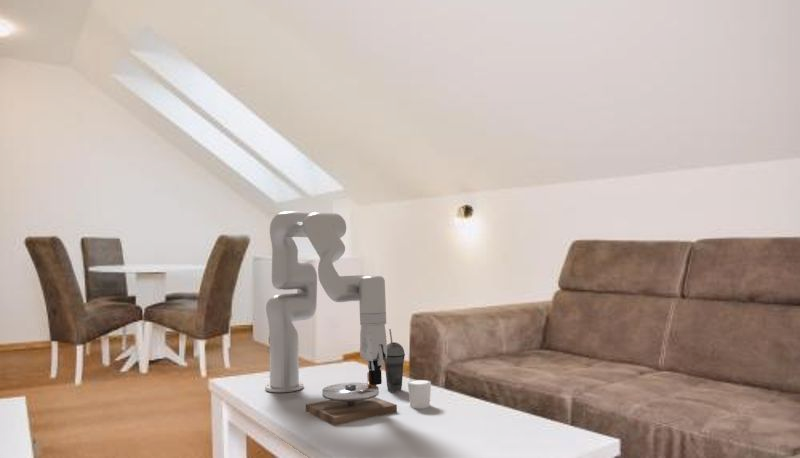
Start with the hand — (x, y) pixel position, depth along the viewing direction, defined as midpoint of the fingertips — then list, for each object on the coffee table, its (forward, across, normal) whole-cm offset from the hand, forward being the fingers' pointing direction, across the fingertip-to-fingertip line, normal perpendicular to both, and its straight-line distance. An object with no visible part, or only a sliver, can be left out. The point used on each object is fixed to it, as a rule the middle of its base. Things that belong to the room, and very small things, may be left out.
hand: (375, 383), depth 164 cm
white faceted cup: (+8, 0, +14) cm, 16 cm away
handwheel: (+3, -4, -6) cm, 8 cm away
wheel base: (+8, -4, -6) cm, 11 cm away
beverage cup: (+8, -21, +15) cm, 27 cm away
